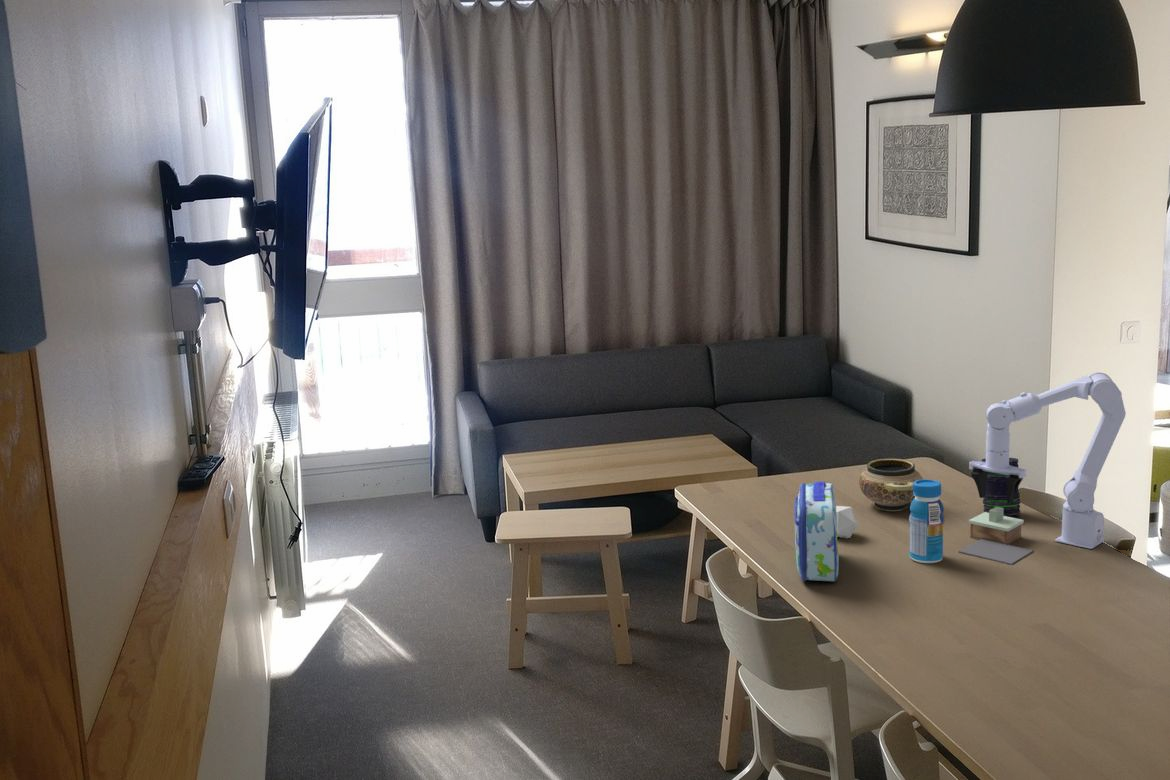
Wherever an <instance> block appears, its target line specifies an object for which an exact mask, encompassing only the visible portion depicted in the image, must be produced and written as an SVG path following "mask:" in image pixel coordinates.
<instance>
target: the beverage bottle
mask: <svg viewBox="0 0 1170 780" xmlns="http://www.w3.org/2000/svg"><path fill="white" fill-rule="evenodd" d="M913 494H914V496H915V498H914V499H913V501H911V502H910V506H909V510H910V514H909V516H908V521H909V553H908V554H909V558H910V559H911V560H912V561H913V562H917V563H921V564H936V563H939V562H941V561H943V558H944V524H945V516H944V514H943V513H944V511H945V508H944V504H943V503H942V501H941V499H940V498H941V495H942V484H941V482H940V481H938V480H934V479H926V478H925V479H924V478H923V479H922V480H917V481H915V482H914V483H913Z"/></svg>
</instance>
